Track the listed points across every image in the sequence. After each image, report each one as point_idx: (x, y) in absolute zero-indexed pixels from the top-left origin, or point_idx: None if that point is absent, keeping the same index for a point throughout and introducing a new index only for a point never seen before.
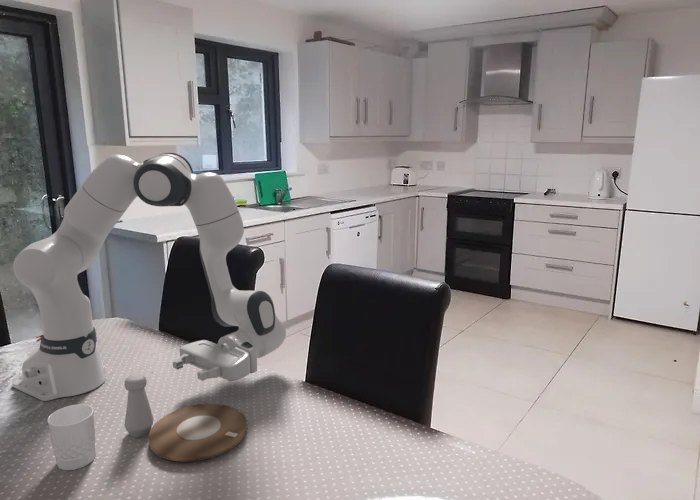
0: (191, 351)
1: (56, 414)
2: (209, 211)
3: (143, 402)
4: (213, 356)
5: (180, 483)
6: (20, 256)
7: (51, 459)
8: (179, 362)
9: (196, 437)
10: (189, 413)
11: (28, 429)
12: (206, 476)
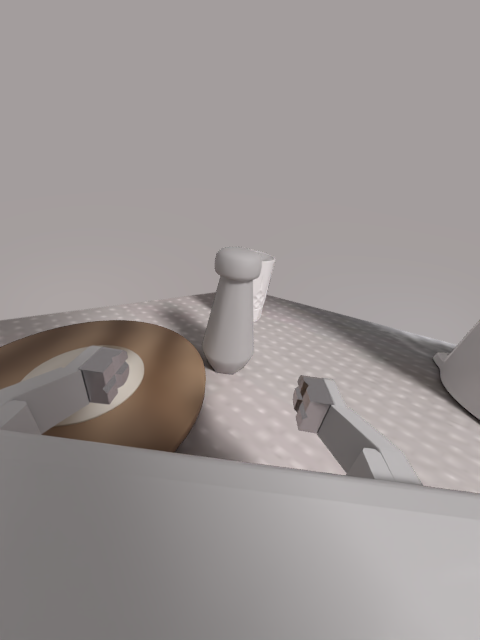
0: (393, 492)
1: (270, 259)
2: None
3: (214, 302)
4: (60, 526)
5: (74, 320)
6: None
7: (264, 309)
8: (307, 391)
9: (75, 353)
10: (151, 410)
11: (348, 325)
12: (30, 334)
